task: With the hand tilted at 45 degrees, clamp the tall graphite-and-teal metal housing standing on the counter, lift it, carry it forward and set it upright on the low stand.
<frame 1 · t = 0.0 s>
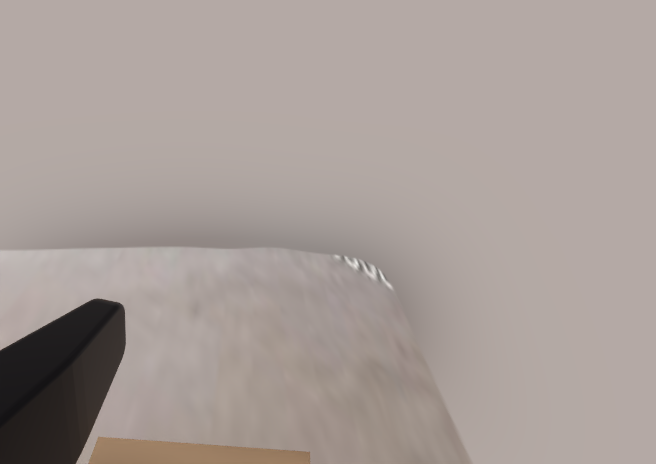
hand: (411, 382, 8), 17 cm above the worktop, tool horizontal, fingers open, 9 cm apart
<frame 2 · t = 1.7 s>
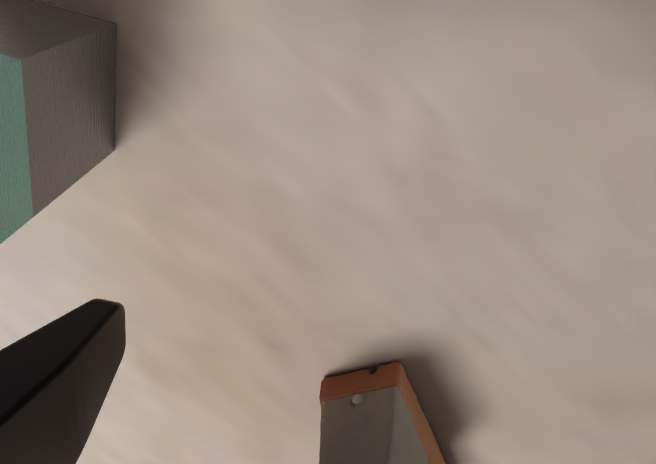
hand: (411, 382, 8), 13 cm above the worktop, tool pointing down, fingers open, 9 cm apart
housing: (50, 74, 20), on the worktop
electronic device: (392, 424, 28), on the worktop
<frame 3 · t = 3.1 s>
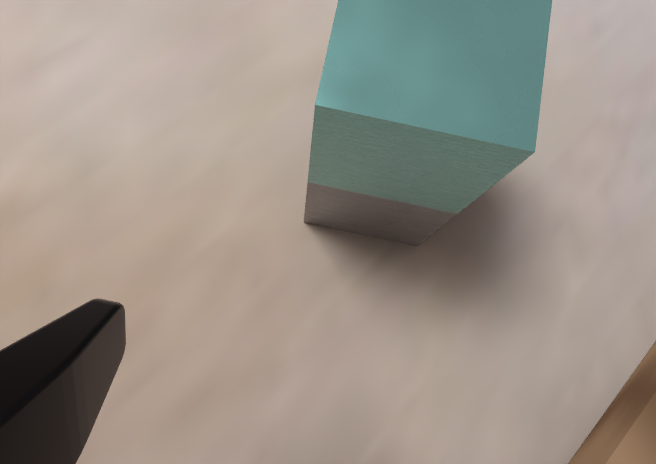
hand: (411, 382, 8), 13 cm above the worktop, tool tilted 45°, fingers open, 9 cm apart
housing: (371, 179, 23), on the worktop
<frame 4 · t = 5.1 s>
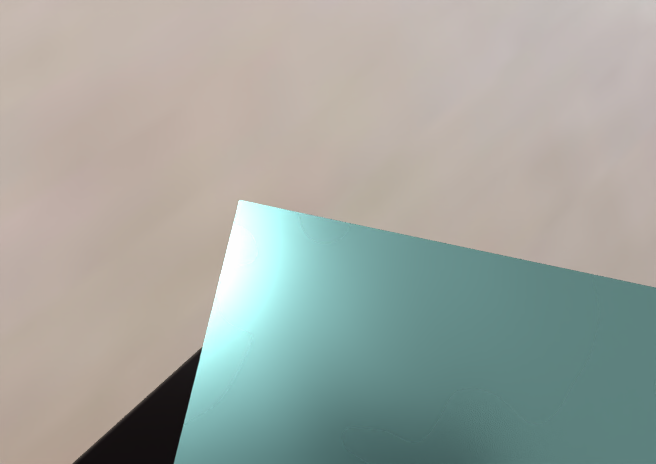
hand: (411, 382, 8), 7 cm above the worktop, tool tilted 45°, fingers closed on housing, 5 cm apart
housing: (348, 418, 14), on the worktop, touching gripper
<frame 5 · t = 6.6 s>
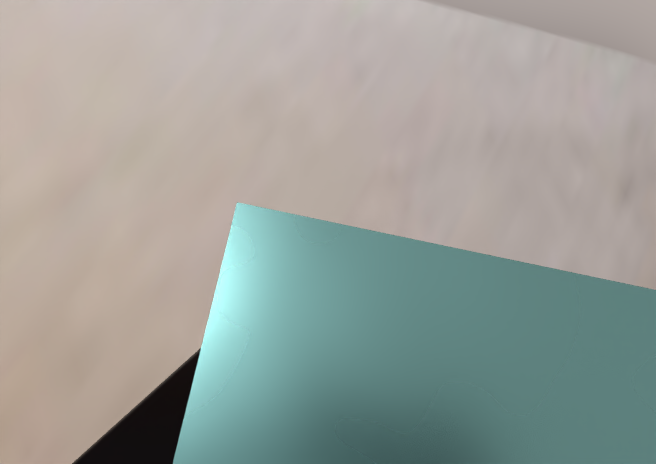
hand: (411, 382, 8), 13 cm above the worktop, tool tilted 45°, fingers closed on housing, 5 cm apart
housing: (346, 413, 14), point 6 cm above the worktop, touching gripper
when the fingers open (9 cm above the worktop, at t = 8.3 s): housing stays where it is, resting on stand.
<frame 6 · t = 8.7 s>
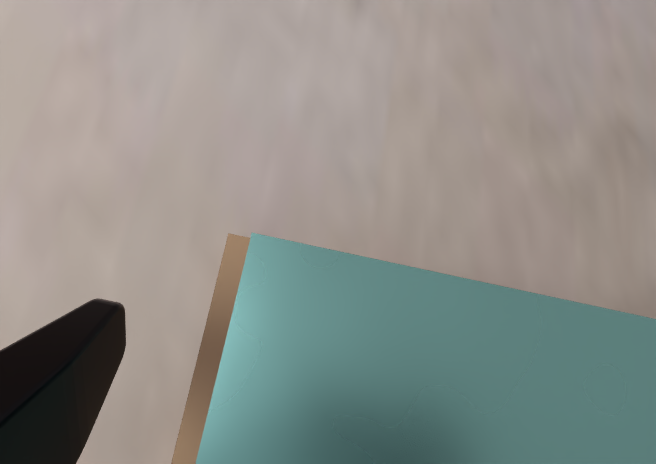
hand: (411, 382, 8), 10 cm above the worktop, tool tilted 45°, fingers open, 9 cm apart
housing: (345, 415, 15), point 2 cm above the worktop, touching stand
stand: (338, 406, 17), on the worktop
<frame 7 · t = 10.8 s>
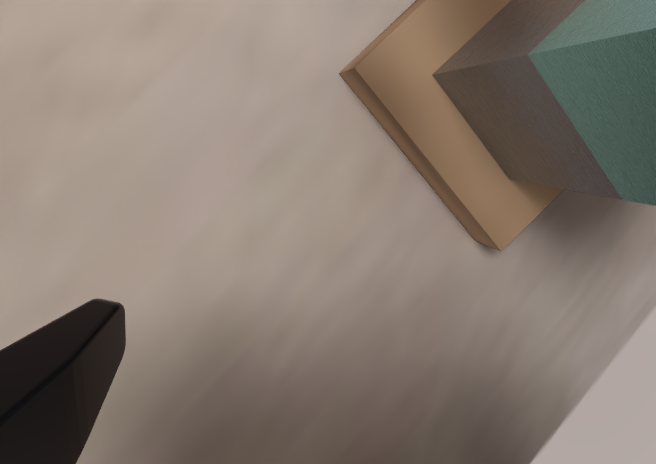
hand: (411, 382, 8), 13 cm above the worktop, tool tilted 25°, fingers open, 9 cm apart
housing: (520, 82, 19), point 2 cm above the worktop, touching stand
stand: (491, 85, 21), on the worktop
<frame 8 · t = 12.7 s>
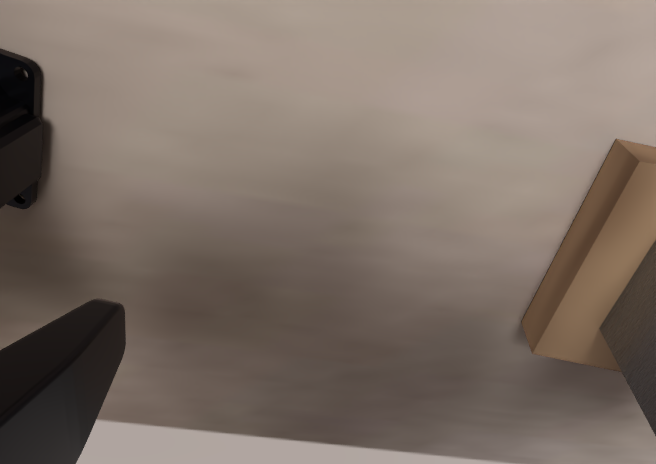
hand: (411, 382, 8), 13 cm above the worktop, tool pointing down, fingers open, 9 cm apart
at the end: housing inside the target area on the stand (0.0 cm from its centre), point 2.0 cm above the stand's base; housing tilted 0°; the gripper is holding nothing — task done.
